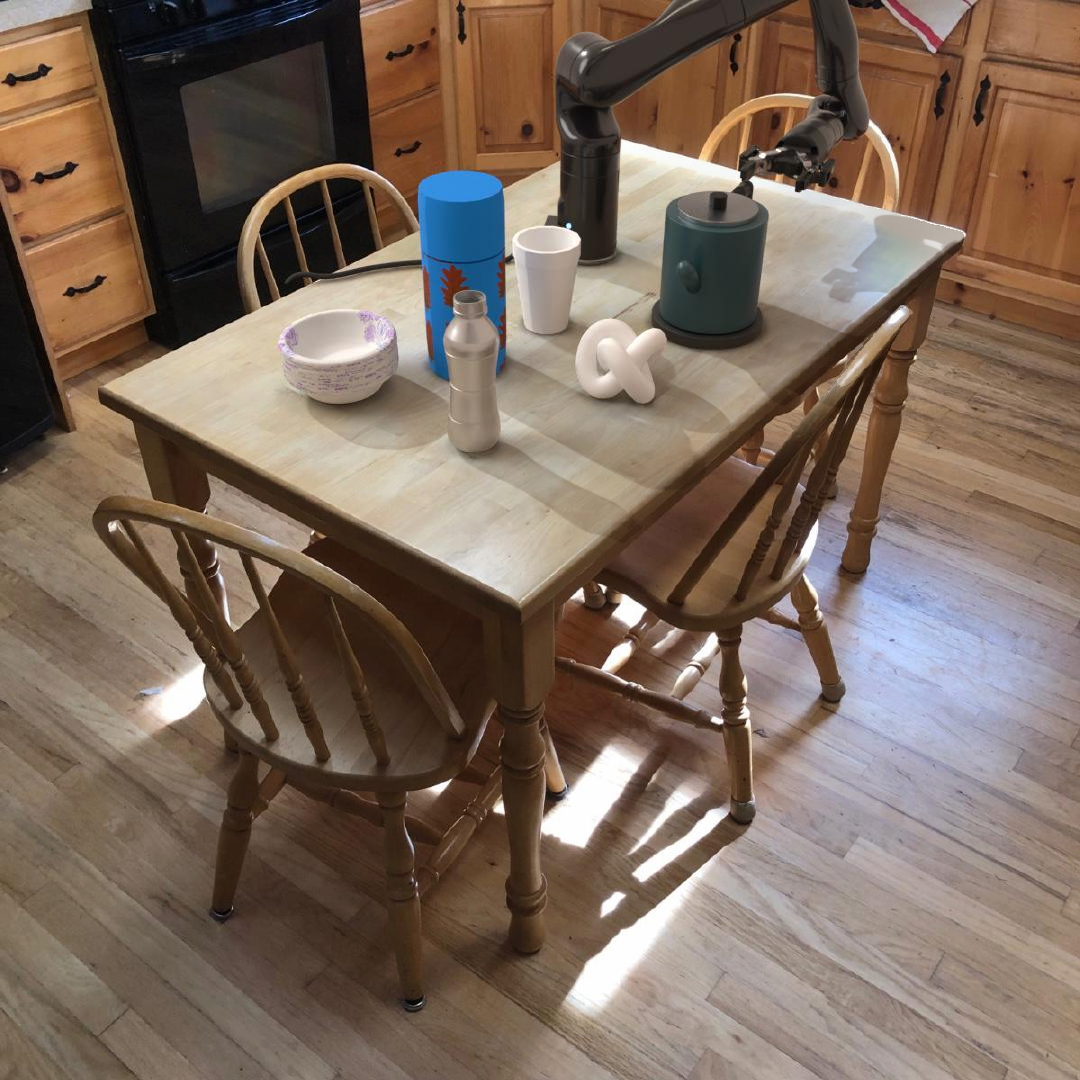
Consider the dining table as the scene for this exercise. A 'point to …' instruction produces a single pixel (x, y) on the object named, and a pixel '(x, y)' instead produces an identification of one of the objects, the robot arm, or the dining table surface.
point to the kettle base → (707, 340)
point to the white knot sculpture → (618, 360)
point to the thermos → (461, 253)
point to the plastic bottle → (472, 374)
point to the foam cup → (546, 275)
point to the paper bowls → (339, 354)
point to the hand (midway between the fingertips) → (770, 181)
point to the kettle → (713, 260)
